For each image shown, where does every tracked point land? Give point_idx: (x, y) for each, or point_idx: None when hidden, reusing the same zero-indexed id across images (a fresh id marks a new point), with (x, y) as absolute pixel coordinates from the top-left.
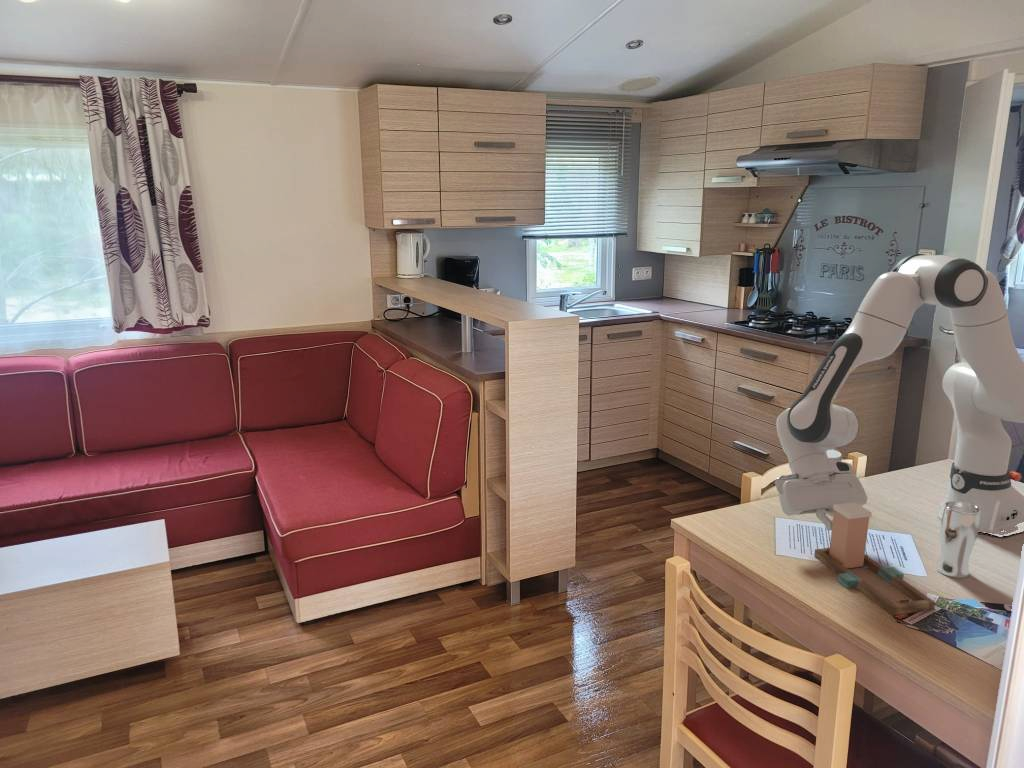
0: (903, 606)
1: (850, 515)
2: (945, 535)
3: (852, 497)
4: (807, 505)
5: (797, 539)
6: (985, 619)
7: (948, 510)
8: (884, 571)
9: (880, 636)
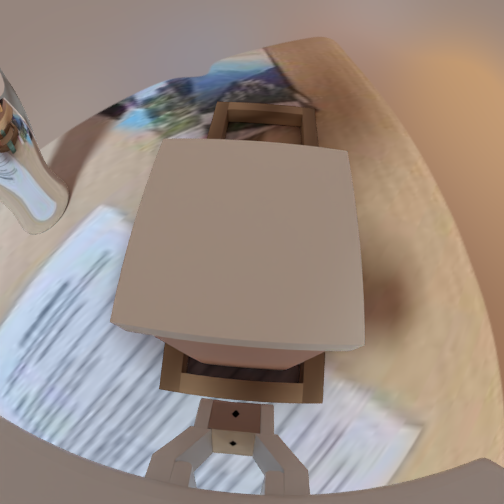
0: (291, 106)
1: (334, 154)
2: (21, 137)
3: (21, 466)
4: (418, 495)
5: None
6: (167, 89)
7: None
8: None
9: (367, 102)
